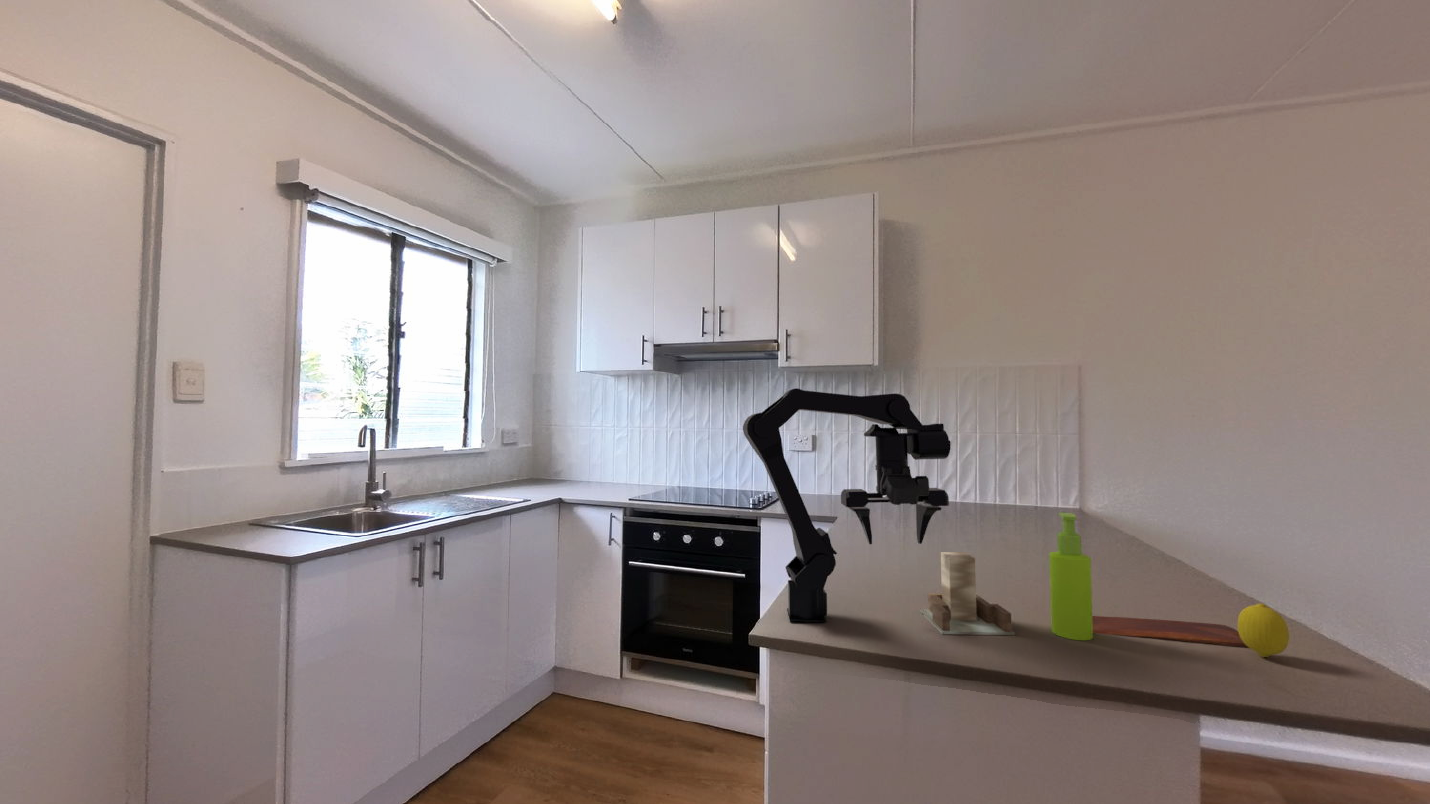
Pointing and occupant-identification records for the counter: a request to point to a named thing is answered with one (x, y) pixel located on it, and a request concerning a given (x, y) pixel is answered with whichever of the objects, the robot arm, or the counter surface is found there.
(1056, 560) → the soap dispenser
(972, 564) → the birch post
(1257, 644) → the lemon
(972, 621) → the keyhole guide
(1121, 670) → the counter surface
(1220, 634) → the wooden tablet
